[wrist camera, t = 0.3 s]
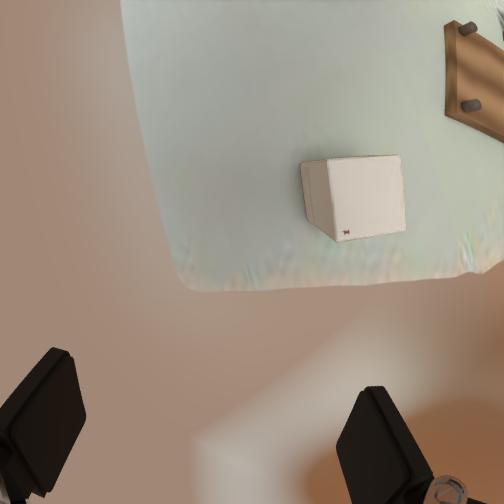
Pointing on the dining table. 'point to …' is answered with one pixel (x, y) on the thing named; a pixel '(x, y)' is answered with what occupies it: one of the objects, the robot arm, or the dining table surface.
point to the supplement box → (355, 196)
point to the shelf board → (474, 79)
